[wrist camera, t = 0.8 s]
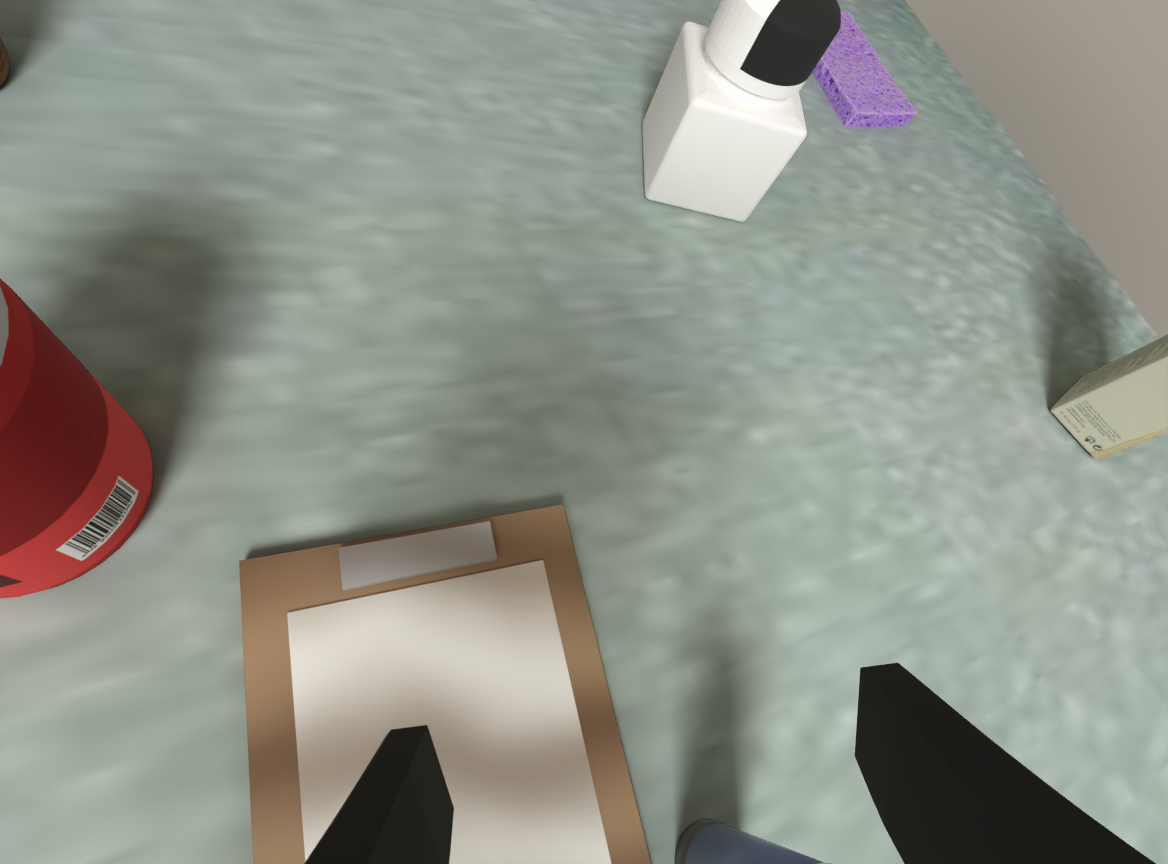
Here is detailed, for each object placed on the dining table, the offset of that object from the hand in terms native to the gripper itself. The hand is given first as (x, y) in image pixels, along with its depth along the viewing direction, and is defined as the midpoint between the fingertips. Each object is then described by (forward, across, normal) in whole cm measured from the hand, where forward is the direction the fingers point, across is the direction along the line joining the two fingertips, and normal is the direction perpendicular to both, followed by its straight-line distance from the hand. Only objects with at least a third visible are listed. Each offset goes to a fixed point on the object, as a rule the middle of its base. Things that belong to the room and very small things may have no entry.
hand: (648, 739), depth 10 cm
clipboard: (+9, +7, +10) cm, 15 cm away
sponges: (+50, -25, -14) cm, 58 cm away
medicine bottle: (+36, -9, -8) cm, 38 cm away
